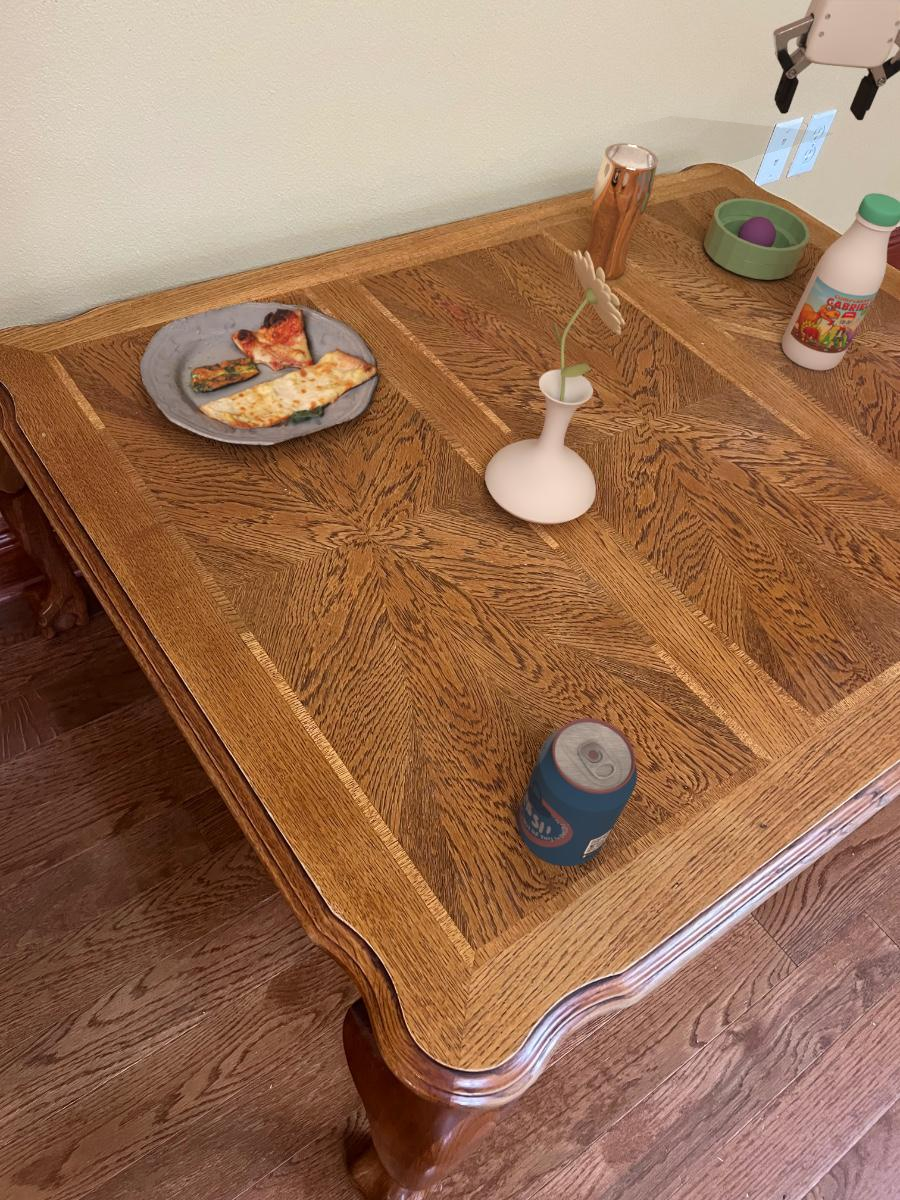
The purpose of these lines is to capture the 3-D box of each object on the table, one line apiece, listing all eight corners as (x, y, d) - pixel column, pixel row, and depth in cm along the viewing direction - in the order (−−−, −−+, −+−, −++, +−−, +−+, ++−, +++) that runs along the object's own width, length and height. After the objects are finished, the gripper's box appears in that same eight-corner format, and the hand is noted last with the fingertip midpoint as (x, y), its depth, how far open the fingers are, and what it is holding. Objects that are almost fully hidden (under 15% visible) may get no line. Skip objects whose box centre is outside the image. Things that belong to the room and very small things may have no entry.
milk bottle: (767, 338, 119) (836, 186, 104) (817, 331, 122) (891, 182, 106) (801, 376, 115) (878, 223, 100) (852, 368, 117) (934, 218, 102)
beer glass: (568, 254, 126) (594, 142, 115) (615, 251, 128) (645, 141, 117) (588, 283, 122) (617, 171, 111) (635, 280, 124) (669, 169, 113)
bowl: (781, 235, 137) (795, 202, 133) (806, 287, 128) (821, 254, 124) (694, 227, 135) (705, 194, 131) (713, 279, 127) (726, 245, 123)
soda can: (497, 814, 73) (524, 735, 64) (567, 776, 76) (603, 695, 67) (547, 889, 70) (584, 817, 61) (619, 847, 73) (664, 772, 63)
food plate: (312, 298, 113) (312, 272, 111) (417, 412, 102) (420, 386, 100) (110, 352, 103) (105, 325, 100) (203, 486, 92) (200, 459, 89)
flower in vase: (597, 538, 93) (672, 324, 74) (484, 530, 92) (530, 310, 73) (584, 450, 102) (649, 236, 82) (480, 441, 101) (521, 222, 81)
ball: (763, 244, 133) (776, 211, 129) (772, 263, 130) (785, 230, 126) (729, 242, 133) (741, 208, 129) (737, 261, 129) (749, 227, 126)
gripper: (942, -53, 106) (875, 104, 119) (795, -68, 104) (743, 93, 118) (967, -30, 101) (895, 131, 114) (814, -45, 100) (758, 120, 113)
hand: (818, 112), depth 116 cm, fingers open, 9 cm apart
